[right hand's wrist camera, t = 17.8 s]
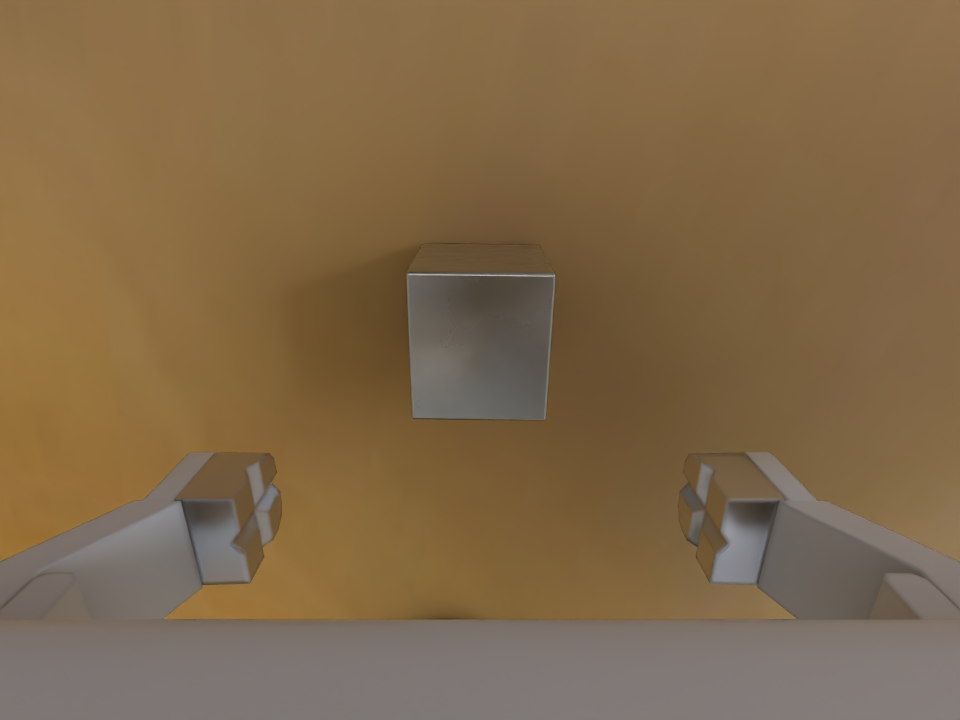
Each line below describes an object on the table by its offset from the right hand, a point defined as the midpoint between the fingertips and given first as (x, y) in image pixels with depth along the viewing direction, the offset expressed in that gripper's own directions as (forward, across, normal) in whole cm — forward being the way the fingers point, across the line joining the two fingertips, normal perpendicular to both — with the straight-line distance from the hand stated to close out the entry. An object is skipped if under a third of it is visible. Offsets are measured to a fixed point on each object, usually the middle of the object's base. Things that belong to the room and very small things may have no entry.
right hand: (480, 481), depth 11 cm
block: (+10, 0, +1) cm, 10 cm away
